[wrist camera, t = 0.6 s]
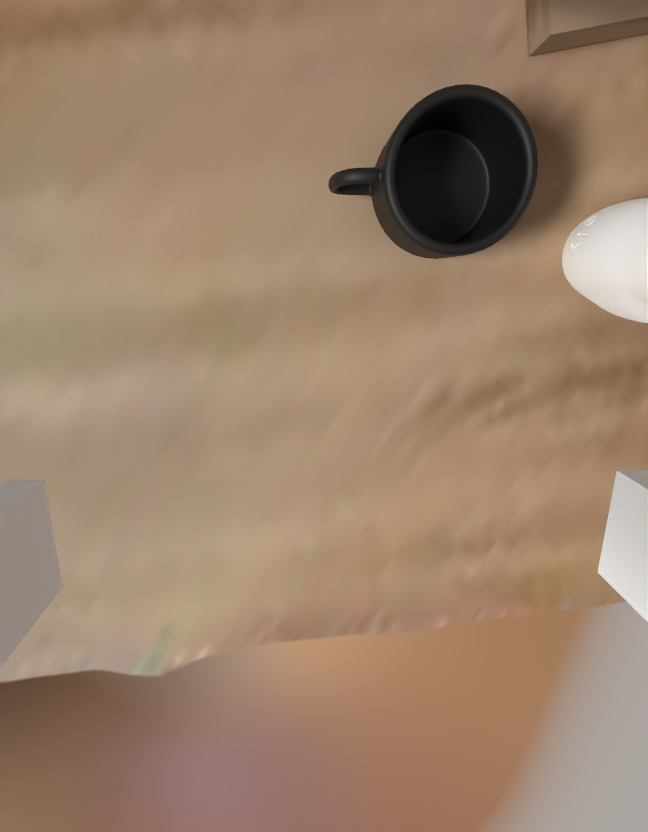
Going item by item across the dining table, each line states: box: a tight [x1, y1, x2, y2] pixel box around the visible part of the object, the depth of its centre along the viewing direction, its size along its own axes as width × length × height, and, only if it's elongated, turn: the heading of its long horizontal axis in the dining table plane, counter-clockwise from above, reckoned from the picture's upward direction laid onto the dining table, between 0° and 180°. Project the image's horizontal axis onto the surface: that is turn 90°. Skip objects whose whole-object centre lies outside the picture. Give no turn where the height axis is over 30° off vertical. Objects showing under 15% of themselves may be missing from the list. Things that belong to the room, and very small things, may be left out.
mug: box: [329, 84, 538, 259], centre depth 31 cm, size 12×9×7 cm
